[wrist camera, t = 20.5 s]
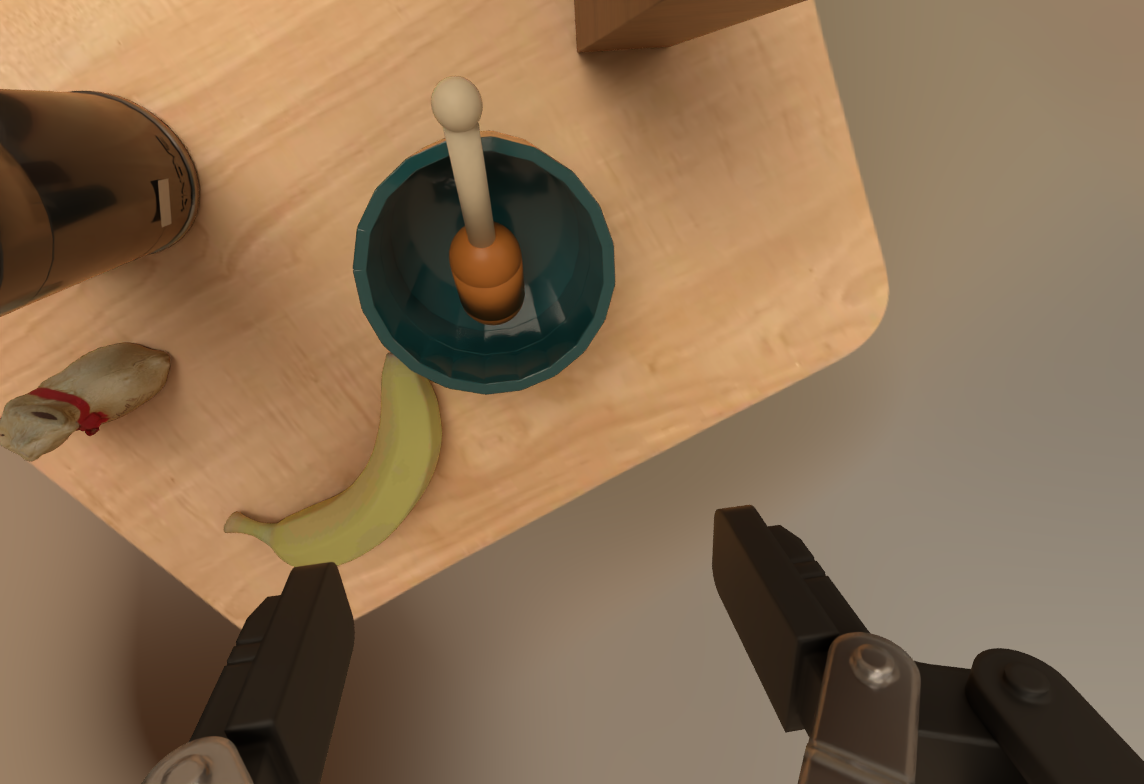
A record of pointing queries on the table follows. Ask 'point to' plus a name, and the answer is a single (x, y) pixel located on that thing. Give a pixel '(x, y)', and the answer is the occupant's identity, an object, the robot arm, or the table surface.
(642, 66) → the table surface
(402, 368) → the banana
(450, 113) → the drumstick
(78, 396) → the chocolate bunny
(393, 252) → the pot
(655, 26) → the stand
